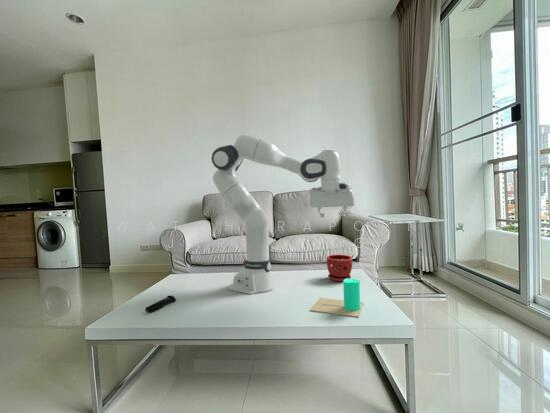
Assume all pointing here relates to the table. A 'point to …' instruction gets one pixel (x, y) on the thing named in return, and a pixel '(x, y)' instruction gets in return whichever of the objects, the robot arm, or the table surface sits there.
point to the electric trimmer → (160, 304)
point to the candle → (351, 294)
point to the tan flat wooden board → (334, 307)
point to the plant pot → (339, 267)
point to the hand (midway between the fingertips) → (332, 217)
